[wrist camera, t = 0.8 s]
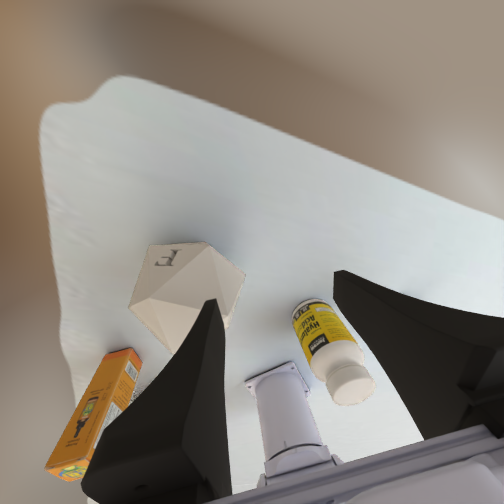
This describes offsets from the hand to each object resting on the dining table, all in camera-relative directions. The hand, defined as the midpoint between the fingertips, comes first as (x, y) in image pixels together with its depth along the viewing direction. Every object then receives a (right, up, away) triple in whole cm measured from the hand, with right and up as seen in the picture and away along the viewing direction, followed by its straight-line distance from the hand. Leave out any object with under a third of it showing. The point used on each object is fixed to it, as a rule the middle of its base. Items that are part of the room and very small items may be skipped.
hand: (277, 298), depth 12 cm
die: (-7, +1, +9) cm, 12 cm away
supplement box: (-17, -10, +13) cm, 24 cm away
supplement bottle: (+6, -5, +14) cm, 16 cm away
